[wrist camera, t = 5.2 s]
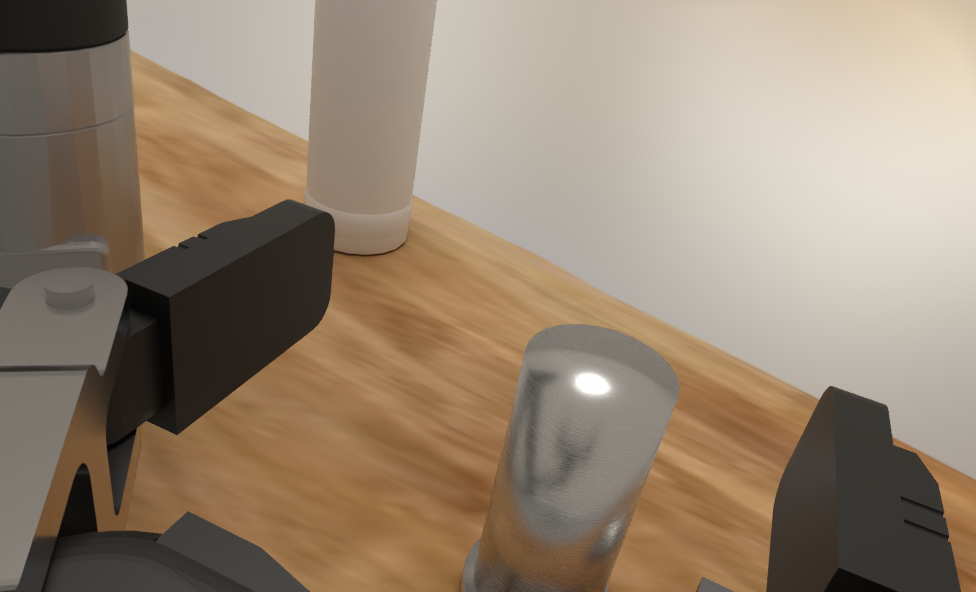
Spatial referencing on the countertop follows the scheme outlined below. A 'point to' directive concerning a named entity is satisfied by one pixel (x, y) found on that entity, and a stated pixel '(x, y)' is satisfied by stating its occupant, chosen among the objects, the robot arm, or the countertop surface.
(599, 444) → the flanged metal cylinder
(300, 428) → the countertop surface
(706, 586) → the base plate
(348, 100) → the bottle
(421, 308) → the countertop surface
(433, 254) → the countertop surface
